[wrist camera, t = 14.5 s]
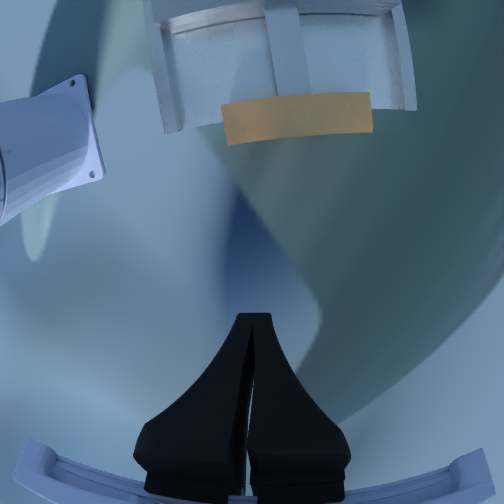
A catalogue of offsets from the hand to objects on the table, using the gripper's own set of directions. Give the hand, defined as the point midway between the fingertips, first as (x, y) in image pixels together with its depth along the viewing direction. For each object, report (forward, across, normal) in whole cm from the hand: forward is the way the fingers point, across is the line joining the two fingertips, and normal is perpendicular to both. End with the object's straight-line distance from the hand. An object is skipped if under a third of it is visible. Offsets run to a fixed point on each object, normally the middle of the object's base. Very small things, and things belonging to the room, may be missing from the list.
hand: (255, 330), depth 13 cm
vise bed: (+9, -1, -17) cm, 20 cm away
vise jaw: (+8, -2, -12) cm, 14 cm away
